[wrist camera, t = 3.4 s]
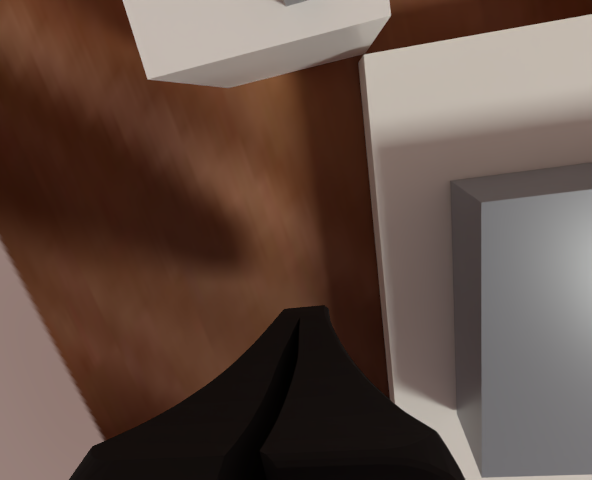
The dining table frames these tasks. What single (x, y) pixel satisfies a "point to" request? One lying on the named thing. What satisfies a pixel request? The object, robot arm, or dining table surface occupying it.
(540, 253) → the grey slab with nub
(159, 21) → the plug
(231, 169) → the dining table surface
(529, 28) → the socket plate
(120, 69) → the dining table surface
